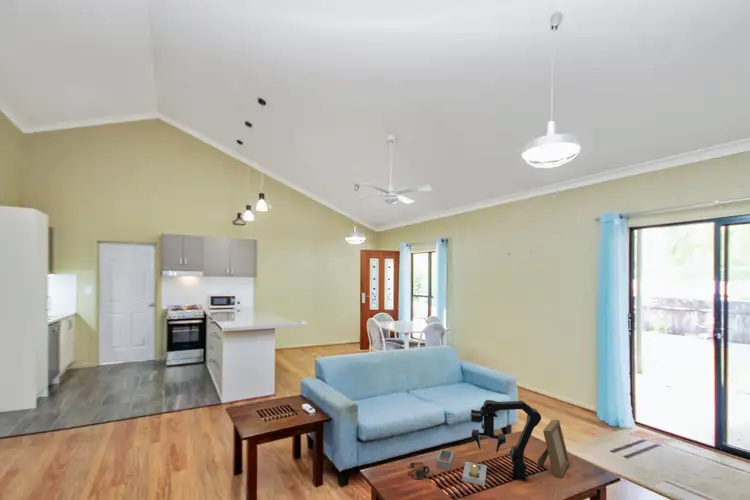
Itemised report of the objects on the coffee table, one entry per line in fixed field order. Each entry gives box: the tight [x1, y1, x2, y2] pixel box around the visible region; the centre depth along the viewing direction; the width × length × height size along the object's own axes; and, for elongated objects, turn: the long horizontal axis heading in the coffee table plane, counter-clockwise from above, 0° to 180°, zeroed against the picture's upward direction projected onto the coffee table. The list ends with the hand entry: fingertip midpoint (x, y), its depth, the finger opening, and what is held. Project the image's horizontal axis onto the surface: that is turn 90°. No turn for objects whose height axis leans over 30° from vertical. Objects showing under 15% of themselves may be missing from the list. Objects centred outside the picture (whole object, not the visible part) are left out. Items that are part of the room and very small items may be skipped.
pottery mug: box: [408, 461, 431, 480], centre depth 215 cm, size 12×10×8 cm
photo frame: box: [536, 419, 570, 478], centre depth 230 cm, size 15×22×25 cm
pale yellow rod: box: [471, 462, 479, 478], centre depth 213 cm, size 4×4×8 cm
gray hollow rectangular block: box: [436, 449, 454, 471], centre depth 230 cm, size 8×15×4 cm, turn 161°
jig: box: [461, 461, 488, 487], centre depth 217 cm, size 12×18×2 cm, turn 161°
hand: (488, 451), depth 220 cm, fingers open, 9 cm apart
